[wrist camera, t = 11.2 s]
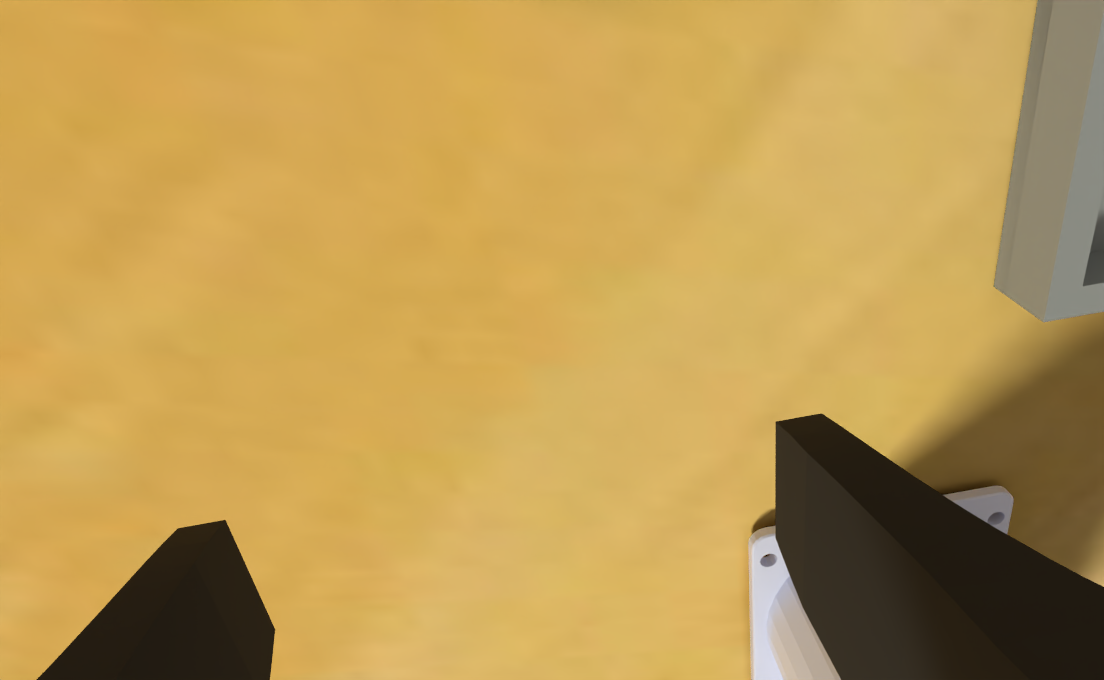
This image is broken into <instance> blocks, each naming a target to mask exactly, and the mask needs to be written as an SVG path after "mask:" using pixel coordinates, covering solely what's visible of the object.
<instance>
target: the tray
mask: <svg viewBox="0 0 1104 680" xmlns="http://www.w3.org/2000/svg"><path fill="white" fill-rule="evenodd" d="M994 287H995V288H996V289H998V290H999V291H1000V292H1002V293H1003V294H1005V295H1006V296H1007V297H1009V298H1010V299H1012V300H1013V301H1014V302H1016V303H1017V304H1019V305H1020V306H1021V307H1023V308H1024V309H1026V310H1027V311H1028V312H1030V313H1031V314H1033V315H1034V316H1035V317H1037V318H1038V319H1040V320H1041V321H1042V322H1048V321H1053V320H1059V319H1065V318H1070V317H1076V316H1082V315H1087V314H1093V313H1099V312H1104V0H1038V2H1037V9H1036V15H1035V22H1034V28H1033V35H1032V41H1031V48H1030V54H1029V61H1028V67H1027V74H1026V80H1025V87H1024V93H1023V100H1022V106H1021V113H1020V119H1019V126H1018V132H1017V139H1016V145H1015V152H1014V158H1013V165H1012V171H1011V178H1010V184H1009V191H1008V197H1007V203H1006V210H1005V216H1004V223H1003V229H1002V236H1001V242H1000V249H999V255H998V262H997V268H996V275H995V281H994Z"/></svg>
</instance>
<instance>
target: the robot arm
mask: <svg viewBox="0 0 1104 680" xmlns="http://www.w3.org/2000/svg"><path fill="white" fill-rule="evenodd" d="M1013 503H1014V500H1013V496H1012V495H1011V494H1010V493H1009V492H1008V491H1007V490H1006V489H1005V487H1002V486H990V487H984V488H979V489H973V490H968V491H962V492H957V493H951V494H946V495H942V494H940V493H939V492H937V491H936V490H934V489H932V488H931V487H929V486H928V485H926V484H925V483H923V482H922V481H920V480H919V479H917V478H916V477H914V476H913V475H911V474H910V473H908V472H907V471H905V470H904V469H902V468H901V467H899V466H898V465H896V464H895V463H893V462H892V461H891V460H889V459H888V458H886V457H885V456H883V455H882V454H880V453H879V452H877V451H876V450H874V449H873V448H872V447H870V446H869V445H867V444H866V443H864V442H863V441H861V440H860V439H859V438H857V437H856V436H854V435H853V434H851V433H850V432H848V431H847V430H845V429H844V428H843V427H841V426H840V425H838V424H837V423H835V422H834V421H832V420H831V419H829V418H828V417H826V416H825V415H823V414H816V415H811V416H805V417H799V418H794V419H788V420H783V421H777V422H776V523H775V526H770V527H765V528H761V529H758V530H757V531H756V532H754V533H753V534H752V535H751V537H750V538H749V542H748V549H749V599H750V649H751V680H1104V587H1103V586H1101V585H1099V584H1096V583H1094V582H1092V581H1090V580H1088V579H1086V578H1084V577H1082V576H1081V575H1079V574H1077V573H1075V572H1073V571H1071V570H1069V569H1067V568H1066V567H1064V566H1062V565H1060V564H1058V563H1056V562H1054V561H1052V560H1051V559H1049V558H1047V557H1045V556H1044V555H1042V554H1040V553H1038V552H1037V551H1035V550H1033V549H1031V548H1030V547H1028V546H1026V545H1024V544H1023V543H1021V542H1019V541H1017V540H1016V539H1014V538H1012V537H1010V536H1009V535H1007V533H1008V528H1009V523H1010V518H1011V513H1012V508H1013ZM767 554H770V555H769V556H766V557H763V556H765V555H767ZM274 634H275V628H274V626H273V624H272V622H271V620H270V617H269V615H268V613H267V611H266V609H265V606H264V604H263V602H262V600H261V598H260V595H259V593H258V591H257V589H256V587H255V584H254V582H253V580H252V578H251V576H250V573H249V571H248V569H247V567H246V564H245V562H244V560H243V558H242V556H241V553H240V551H239V549H238V547H237V545H236V542H235V540H234V538H233V536H232V534H231V531H230V529H229V527H228V525H227V523H226V520H223V521H217V522H211V523H206V524H200V525H195V526H189V527H183V528H178V529H177V530H176V531H175V532H174V533H173V534H172V535H171V536H170V537H169V538H168V539H167V540H166V541H165V542H164V543H163V544H162V545H161V546H160V547H159V548H158V549H157V550H156V551H155V552H154V554H153V555H152V556H151V557H150V558H149V559H148V560H147V561H146V562H145V563H144V564H143V565H142V567H141V568H140V569H139V570H138V571H137V572H136V573H135V574H134V575H133V576H132V577H131V579H130V580H129V581H128V582H127V583H126V584H125V585H124V586H123V587H122V588H121V590H120V591H119V592H118V593H117V594H116V595H115V596H114V597H113V598H112V599H111V601H110V602H109V603H108V604H107V605H106V606H105V607H104V608H103V609H102V610H101V612H100V613H99V614H98V615H97V616H96V617H95V618H94V619H93V620H92V621H91V622H90V623H89V624H88V626H87V627H86V628H85V629H84V630H83V631H82V632H81V633H80V634H79V635H78V636H77V637H76V639H75V640H74V641H73V642H72V643H71V644H70V645H69V646H68V647H67V648H66V649H65V650H64V651H63V653H62V654H61V655H60V656H59V657H58V658H57V659H56V660H55V661H54V662H53V663H52V664H51V665H50V666H49V668H48V669H47V670H46V671H45V672H44V673H43V674H42V675H41V676H40V677H39V678H38V679H37V680H270V673H271V664H272V654H273V644H274Z"/></svg>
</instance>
